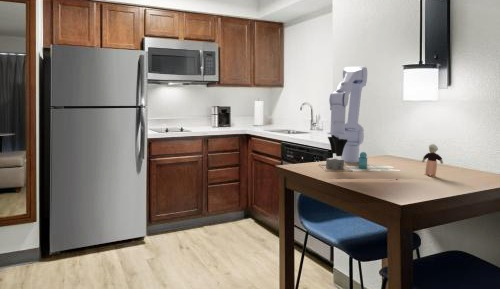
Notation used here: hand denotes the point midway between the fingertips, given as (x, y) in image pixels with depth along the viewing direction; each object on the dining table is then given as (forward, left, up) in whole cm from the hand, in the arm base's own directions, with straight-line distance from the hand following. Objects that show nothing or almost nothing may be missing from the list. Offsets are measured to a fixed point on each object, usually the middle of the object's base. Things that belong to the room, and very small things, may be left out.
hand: (336, 154), depth 160 cm
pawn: (0, +11, -6) cm, 12 cm away
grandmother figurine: (+10, +35, -7) cm, 37 cm away
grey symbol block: (-1, 0, -7) cm, 7 cm away
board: (0, +9, -7) cm, 11 cm away
